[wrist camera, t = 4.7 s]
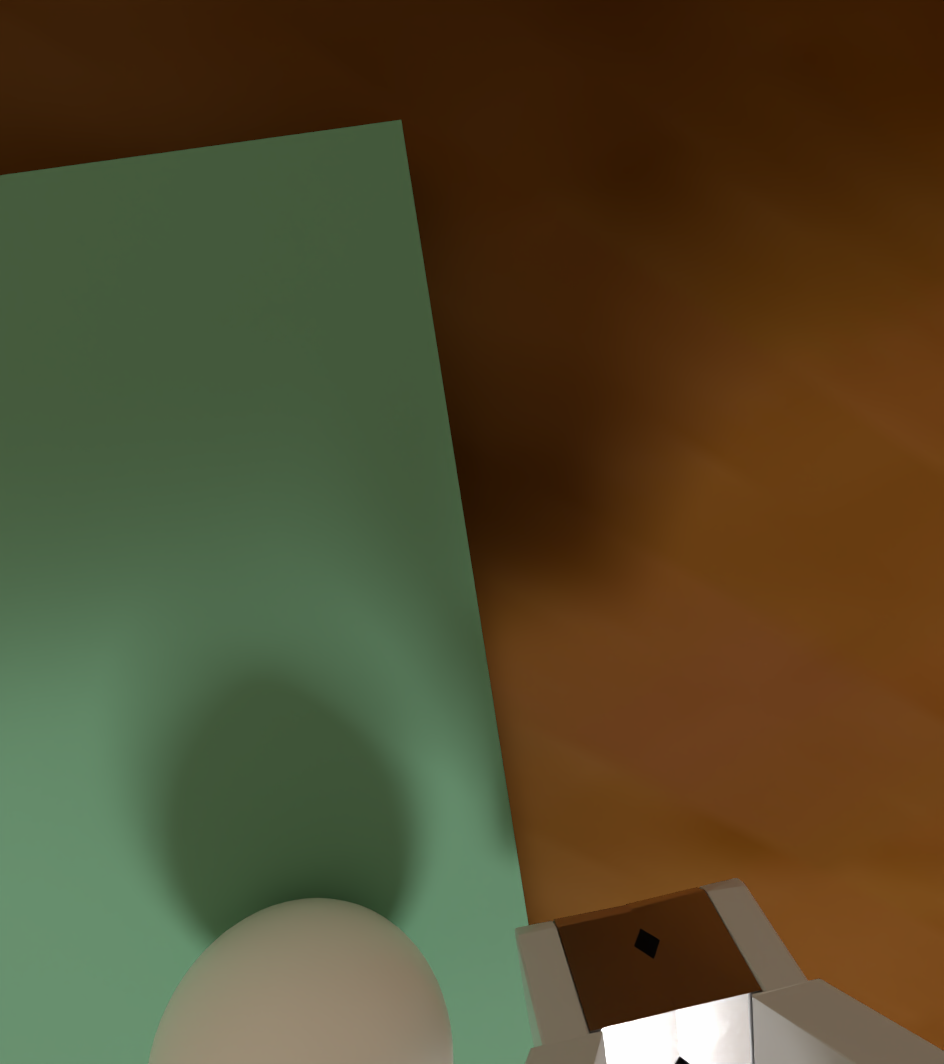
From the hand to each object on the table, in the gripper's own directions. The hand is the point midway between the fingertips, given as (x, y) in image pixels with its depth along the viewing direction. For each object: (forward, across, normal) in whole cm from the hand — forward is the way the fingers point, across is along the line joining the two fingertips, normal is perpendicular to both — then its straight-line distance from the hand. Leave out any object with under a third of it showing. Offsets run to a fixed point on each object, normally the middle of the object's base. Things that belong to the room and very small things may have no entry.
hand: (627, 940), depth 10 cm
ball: (-1, +4, 0) cm, 4 cm away
